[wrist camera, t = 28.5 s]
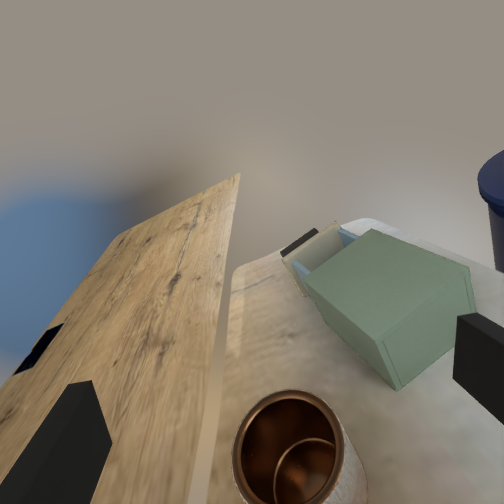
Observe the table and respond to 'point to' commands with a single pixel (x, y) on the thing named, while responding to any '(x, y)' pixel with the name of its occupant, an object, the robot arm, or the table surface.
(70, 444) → the robot arm
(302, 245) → the drawer
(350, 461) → the planter
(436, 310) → the green drawer cabinet
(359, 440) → the table surface
